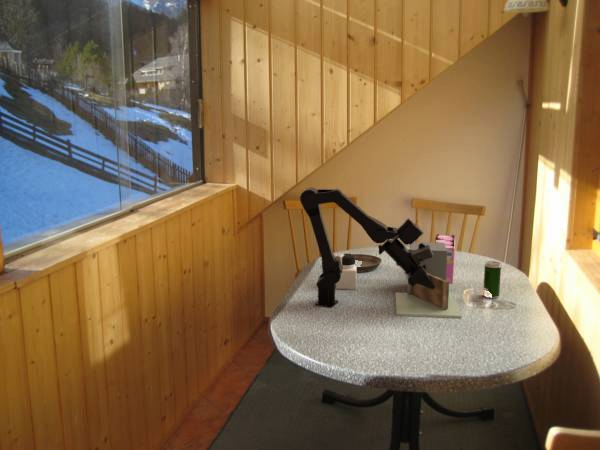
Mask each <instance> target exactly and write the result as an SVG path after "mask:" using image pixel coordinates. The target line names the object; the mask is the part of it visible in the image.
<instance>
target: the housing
mask: <svg viewBox="0 0 600 450" xmlns="http://www.w3.org/2000/svg"><path fill="white" fill-rule="evenodd" d="M421 243H424V244H425V245H426V246H427V245H429V246H430V248H431V251H432V253H433V257H432V258H428V259H425V260H424V261H423V262H422V261H421V264H420V265H421V266H423V265H426V270H427V273H429V274H431V275H434V276H436V277H438V278H441V279H443V280H446V265H447V249H446V247H445V244H444V243H435V242H428V241H427V242H424V241H423V242H422V241H421V242H420V241H418V242H416V241H414V242H413V243H412V244H411V245H410V244H409V250H410V249H411V250H412V251H415V250H416V249H418V246H419V244H421ZM420 265H419V266H420ZM409 274H410V273H409ZM409 274H408V275H409ZM408 275H407V276H408ZM406 289H407V292H396V291H395V311H396V316H398V317H425V318H426V317H427V318H452V319H461V318H463V317H462V313H461V309H460V308H459V304H458V301H457V299H456V295H455V294H454V293H453V294H452V293H449V298H448V309H443V308H441V307H439V306H436V305H434V304H432V303H430V302H428V301H426V300H424V299H422V298H420V297H418V296H416V295H414V294H412V291H413V286H411V285H410V284H409V283H408V282H407V288H406Z"/></svg>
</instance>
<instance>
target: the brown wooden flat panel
mask: <svg viewBox="0 0 600 450" xmlns="http://www.w3.org/2000/svg"><path fill="white" fill-rule="evenodd" d="M427 275H428V277H429V278H430V280H431V282H432V283H433V285H434V286H435V288H434V289H430V288H427V287H425V286H422V285H420V284H417V283H416V284H415V285H414V286H413V291H412V294H414V295H416V296H418V297H420V298H422V299H424V300H426V301H428V302H430V303H432V304H434V305H436V306H439V307H441V308H443V309H448V298H449V294H450V283H449V282H448V281H446V280H443V279H441V278H438V277H436V276H434V275H431V274H429V273H427Z"/></svg>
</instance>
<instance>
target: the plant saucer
mask: <svg viewBox="0 0 600 450" xmlns="http://www.w3.org/2000/svg"><path fill="white" fill-rule="evenodd" d="M352 254H353V255H354V256H355V260H358V261H362V264H361V265H360V266H361V267H357V273H367V272H371V271H373V270H375V269H377V268H378V267H379V266H380V264H381V263H382V258H380V257H378V256H375V255H370V254H363V253H352ZM338 256H339V255H337V256H335V257H336V258H337V257H338ZM366 271H367V272H366Z"/></svg>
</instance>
